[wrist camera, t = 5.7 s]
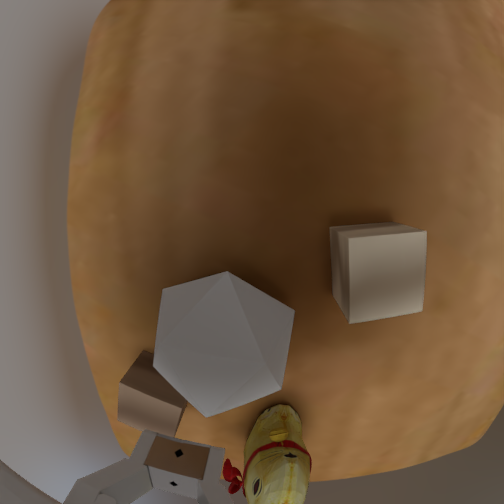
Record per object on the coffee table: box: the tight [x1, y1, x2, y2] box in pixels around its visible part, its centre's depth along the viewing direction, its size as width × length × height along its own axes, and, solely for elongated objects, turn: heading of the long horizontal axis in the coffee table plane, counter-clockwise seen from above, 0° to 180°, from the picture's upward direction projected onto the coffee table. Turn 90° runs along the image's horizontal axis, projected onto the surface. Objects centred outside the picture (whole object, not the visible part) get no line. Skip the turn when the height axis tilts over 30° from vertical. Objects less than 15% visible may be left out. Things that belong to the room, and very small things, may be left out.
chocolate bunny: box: [223, 404, 312, 504], centre depth 16 cm, size 7×11×15 cm, turn 170°
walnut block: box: [117, 350, 187, 437], centre depth 20 cm, size 5×5×5 cm
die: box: [153, 271, 295, 417], centre depth 17 cm, size 8×9×10 cm
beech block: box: [329, 222, 427, 324], centre depth 17 cm, size 5×5×5 cm
